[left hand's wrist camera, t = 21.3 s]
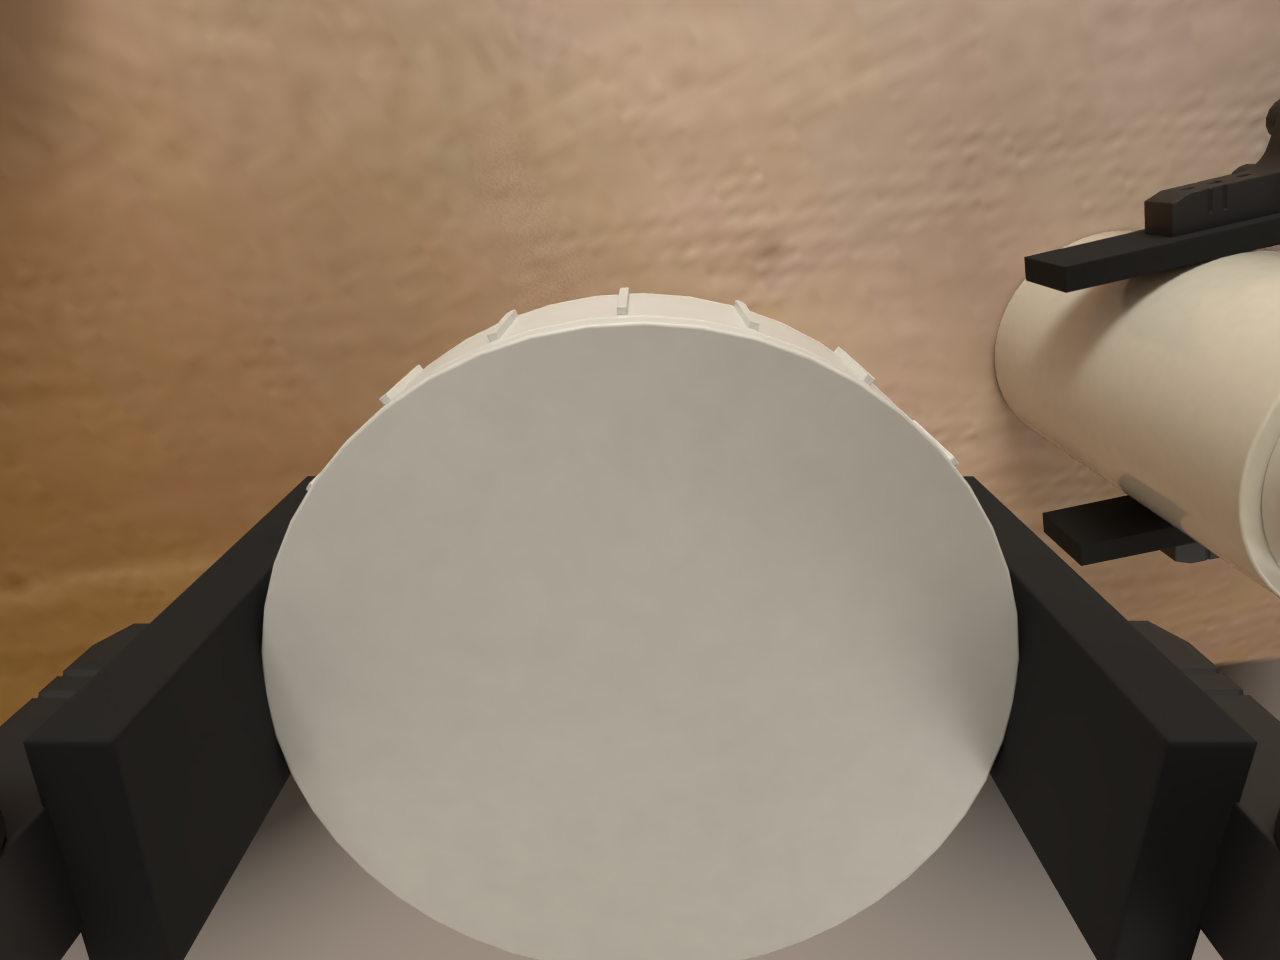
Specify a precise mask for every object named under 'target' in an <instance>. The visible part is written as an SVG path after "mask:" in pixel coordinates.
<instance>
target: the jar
mask: <svg viewBox="0 0 1280 960" xmlns="http://www.w3.org/2000/svg"><path fill="white" fill-rule="evenodd" d="M1131 232H1135V231H1122V230H1119V231H1110V232H1103V233H1099V234H1095V235H1091V236H1088V237H1085V238H1082V239H1080V240H1077V241H1075V242H1073V243H1071V244H1069V245H1067V246H1065V247H1063V248H1066V247H1070V246H1075V245H1079V244H1083V243H1088V242H1092V241H1096V240H1101V239H1105V238H1109V237H1114V236H1118V235H1122V234H1126V233H1131ZM1061 249H1062V248H1061ZM994 361H995V371H996V377H997V381H998V385H999V388H1000V390H1001V393H1002V395H1003V398H1004V399H1005V401H1006V403H1007V404H1008V406H1009V408H1010V409H1011V410H1012V412H1013V413H1014V414H1015V415H1016V416H1017V418H1018V419H1020V420H1021V421H1022V422H1023V423H1024V424H1025V425H1026V426H1028V427H1029V428H1030V429H1032V430H1033V431H1035V432H1036V433H1038V434H1039V435H1041V436H1042V437H1044V438H1045V439H1047V440H1048V441H1050V442H1051V443H1053V444H1054V445H1055V446H1057V447H1058V448H1060V449H1061V450H1063V451H1064V452H1066V453H1067V454H1069V455H1070V456H1072V457H1073V458H1075V459H1076V460H1078V461H1079V462H1080V463H1082V464H1083V465H1085V466H1086V467H1088V468H1089V469H1091V470H1092V471H1094V472H1095V473H1097V474H1098V475H1100V476H1101V477H1103V478H1104V479H1105V480H1107V481H1108V482H1110V483H1111V484H1113V485H1114V486H1116V487H1117V488H1119V489H1120V490H1122V491H1123V492H1125V493H1126V494H1128V495H1129V496H1130V497H1132V498H1133V499H1135V500H1136V501H1138V502H1139V503H1141V504H1142V505H1144V506H1145V507H1147V508H1148V509H1150V510H1151V511H1153V512H1154V513H1155V514H1157V515H1158V516H1160V517H1161V518H1163V519H1164V520H1166V521H1167V522H1169V523H1170V524H1172V525H1173V526H1175V527H1176V528H1177V529H1179V530H1180V531H1182V532H1183V533H1185V534H1186V535H1188V536H1189V537H1191V538H1192V539H1194V540H1195V541H1197V542H1198V543H1200V544H1201V545H1202V546H1204V547H1205V548H1207V549H1208V550H1210V551H1211V552H1213V553H1214V554H1216V555H1217V556H1219V557H1220V558H1222V559H1223V560H1225V561H1226V562H1227V563H1229V564H1230V565H1232V566H1233V567H1235V568H1236V569H1238V570H1239V571H1241V572H1242V573H1244V574H1245V575H1247V576H1248V577H1250V578H1251V579H1252V580H1254V581H1255V582H1257V583H1258V584H1260V585H1261V586H1263V587H1264V588H1266V589H1267V590H1269V591H1270V592H1272V593H1273V594H1275V595H1276V596H1277V597H1279V598H1280V251H1275V250H1268V249H1257V250H1253V251H1248V252H1244V253H1240V254H1235V255H1231V256H1226V257H1222V258H1218V259H1213V260H1209V261H1204V262H1200V263H1196V264H1191V265H1187V266H1183V267H1178V268H1174V269H1169V270H1165V271H1161V272H1156V273H1152V274H1147V275H1143V276H1139V277H1134V278H1130V279H1125V280H1121V281H1117V282H1112V283H1108V284H1104V285H1099V286H1095V287H1090V288H1086V289H1082V290H1077V291H1073V292H1068V293H1064V292H1061V291H1058V290H1055V289H1051V288H1048V287H1045V286H1042V285H1038V284H1035V283H1032V282H1029V281H1026V279H1025V280H1024V281H1023V282H1022V284H1021V285H1020V286H1019V288H1018V289H1017V290H1016V292H1015V293H1014V295H1013V297H1012V298H1011V300H1010V302H1009V303H1008V305H1007V307H1006V310H1005V312H1004V314H1003V317H1002V319H1001V322H1000V326H999V329H998V332H997V338H996V344H995V360H994Z"/></svg>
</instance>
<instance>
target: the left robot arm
mask: <svg viewBox="0 0 1280 960" xmlns="http://www.w3.org/2000/svg"><path fill="white" fill-rule="evenodd" d="M315 477H316V476H307V477H306V478H305V479H304V480H303V481H302V482H301V483H300V484H299V485H298V486H297V487H296V488H294V489H293V490H292V491H291V492H290V493H289V494H288V495H287V496H286V497H285V498H284V499H283V500H282V501H281V502H279V503H278V504H277V505H276V506H275V507H274V508H273V509H272V510H271V511H270V512H269V513H268V514H267V515H266V516H264V517H263V518H262V519H261V520H260V521H259V522H258V523H257V524H256V525H255V526H254V527H253V528H252V529H251V530H250V531H248V532H247V533H246V534H245V535H244V536H243V537H242V538H241V539H240V540H239V541H238V542H237V543H236V544H235V545H233V546H232V547H231V548H230V549H229V550H228V551H227V552H226V553H225V554H224V555H223V556H222V557H221V558H220V559H218V560H217V561H216V562H215V563H214V564H213V565H212V566H211V567H210V568H209V569H208V570H207V571H206V572H205V573H203V574H202V575H201V576H200V577H199V578H198V579H197V580H196V581H195V582H194V583H193V584H192V585H191V586H190V587H189V588H187V589H186V590H185V591H184V592H183V593H182V594H181V595H180V596H179V597H178V598H177V599H176V600H175V601H174V602H172V603H171V604H170V605H169V606H168V607H167V608H166V609H165V610H164V611H163V612H162V613H161V614H160V615H159V616H157V617H156V618H155V619H154V620H153V621H152V622H151V623H150V624H132V625H131V626H129V627H127V628H125V629H123V630H121V631H119V632H117V633H115V634H114V635H112V636H110V637H108V638H106V639H104V640H102V641H100V642H98V643H97V644H95V645H93V646H92V647H90V648H89V649H88V650H87V651H86V652H85V653H84V654H82V655H81V656H80V657H79V658H78V659H77V660H76V661H74V662H73V663H72V664H71V665H70V666H69V667H68V668H66V669H65V670H64V671H63V676H57V677H56V678H55V679H54V680H53V681H52V682H50V683H49V684H48V685H47V686H46V687H45V688H44V689H42V690H41V691H40V692H39V696H38V698H32V699H31V700H30V701H29V702H28V703H27V704H25V705H24V706H23V707H22V708H21V709H20V710H19V711H17V712H16V713H15V714H14V715H13V716H12V717H11V718H9V719H8V720H7V721H6V722H5V723H4V724H3V725H1V726H0V960H61V959H62V957H63V956H64V955H65V953H66V952H67V950H68V949H69V948H70V946H71V945H72V944H73V942H74V941H75V939H76V938H77V937H78V935H79V934H80V933H81V934H82V937H83V940H84V943H85V946H86V950H87V953H88V956H89V960H184V958H185V956H186V955H187V953H188V951H189V949H190V948H191V946H192V944H193V942H194V941H195V939H196V937H197V936H198V934H199V932H200V930H201V929H202V927H203V925H204V923H205V922H206V920H207V918H208V916H209V915H210V913H211V911H212V909H213V908H214V906H215V904H216V902H217V901H218V899H219V897H220V895H221V894H222V892H223V890H224V889H225V887H226V885H227V883H228V881H229V880H230V878H231V876H232V875H233V873H234V871H235V869H236V868H237V866H238V864H239V862H240V861H241V859H242V857H243V855H244V854H245V852H246V850H247V848H248V847H249V845H250V843H251V841H252V840H253V838H254V836H255V835H256V833H257V831H258V829H259V828H260V826H261V824H262V822H263V821H264V819H265V817H266V815H267V814H268V812H269V810H270V808H271V807H272V805H273V803H274V801H275V800H276V798H277V796H278V795H279V793H280V791H281V789H282V788H283V786H284V784H285V782H286V781H287V779H288V777H289V775H290V774H291V772H290V769H289V767H288V765H287V762H286V760H285V757H284V755H283V752H282V750H281V747H280V745H279V742H278V740H277V738H276V735H275V731H274V727H273V723H272V719H271V714H270V709H269V704H268V699H267V693H266V687H265V681H264V673H263V662H262V635H263V619H264V606H265V601H266V597H267V592H268V588H269V583H270V579H271V574H272V570H273V565H274V562H275V559H276V557H277V554H278V552H279V549H280V547H281V544H282V542H283V539H284V536H285V534H286V531H287V529H288V526H289V524H290V521H291V519H292V518H293V516H294V514H295V513H296V511H297V509H298V507H299V506H300V504H301V502H302V501H303V499H304V497H305V495H306V494H307V492H308V491H307V490H306V488H307V486H308V485H309V483H310V482H311V481H312V480H313V479H314V478H315ZM963 478H964V479H965V480H966V481H967V483H968V484H969V485H970V487H971V489H972V490H973V492H974V494H975V496H976V498H977V499H978V501H979V503H980V505H981V507H982V508H983V510H984V512H985V514H986V516H987V517H988V519H989V521H990V523H991V525H992V526H993V529H994V531H995V534H996V537H997V540H998V542H999V545H1000V548H1001V551H1002V553H1003V556H1004V559H1005V562H1006V564H1007V567H1008V570H1009V574H1010V579H1011V584H1012V590H1013V595H1014V600H1015V605H1016V610H1017V619H1018V646H1019V662H1018V671H1017V680H1016V686H1015V692H1014V698H1013V703H1012V708H1011V713H1010V718H1009V721H1008V725H1007V729H1006V732H1005V736H1004V740H1003V743H1002V745H1001V747H1000V750H999V752H998V754H997V757H996V759H995V761H994V764H993V766H992V768H991V771H990V774H991V776H992V778H993V780H994V781H995V783H996V785H997V787H998V788H999V790H1000V792H1001V794H1002V795H1003V797H1004V799H1005V801H1006V802H1007V804H1008V806H1009V808H1010V809H1011V811H1012V813H1013V814H1014V816H1015V818H1016V820H1017V821H1018V823H1019V825H1020V827H1021V828H1022V830H1023V832H1024V834H1025V835H1026V837H1027V839H1028V841H1029V842H1030V844H1031V846H1032V848H1033V849H1034V851H1035V853H1036V854H1037V856H1038V858H1039V860H1040V861H1041V863H1042V865H1043V867H1044V868H1045V870H1046V872H1047V874H1048V875H1049V877H1050V879H1051V881H1052V882H1053V884H1054V886H1055V888H1056V889H1057V891H1058V893H1059V895H1060V896H1061V898H1062V900H1063V901H1064V903H1065V905H1066V907H1067V908H1068V910H1069V912H1070V914H1071V915H1072V917H1073V919H1074V921H1075V922H1076V924H1077V926H1078V928H1079V929H1080V931H1081V933H1082V935H1083V936H1084V938H1085V940H1086V941H1087V943H1088V945H1089V947H1090V948H1091V950H1092V952H1093V954H1094V955H1095V957H1096V959H1097V960H1191V959H1192V955H1193V952H1194V949H1195V945H1196V942H1197V939H1198V936H1199V933H1200V929H1201V930H1202V931H1203V933H1204V934H1205V935H1206V937H1207V938H1208V939H1209V941H1210V942H1211V943H1212V945H1213V946H1214V948H1215V949H1216V950H1217V952H1218V953H1219V954H1220V956H1221V957H1222V958H1223V960H1280V722H1279V721H1278V720H1277V719H1276V718H1275V717H1274V716H1273V715H1271V714H1270V713H1269V712H1268V711H1267V710H1266V709H1265V708H1263V707H1262V706H1261V705H1260V704H1259V703H1258V702H1257V701H1255V700H1254V699H1253V698H1252V697H1251V696H1250V695H1243V689H1242V688H1240V687H1239V686H1238V685H1237V684H1236V683H1235V682H1233V681H1232V680H1231V679H1230V678H1229V677H1228V676H1227V675H1225V674H1224V673H1219V672H1218V668H1217V667H1216V666H1215V665H1214V664H1213V663H1212V662H1211V661H1209V660H1208V659H1207V658H1206V657H1205V656H1204V655H1202V654H1201V653H1200V652H1199V651H1198V650H1197V649H1196V648H1194V647H1193V646H1192V645H1191V644H1190V643H1189V642H1187V641H1185V640H1183V639H1181V638H1179V637H1177V636H1175V635H1173V634H1171V633H1169V632H1168V631H1166V630H1164V629H1162V628H1160V627H1158V626H1156V625H1154V624H1152V623H1150V622H1149V621H1127V620H1126V619H1125V618H1124V617H1123V616H1122V615H1121V614H1120V613H1119V612H1118V611H1117V610H1116V609H1115V608H1113V607H1112V606H1111V605H1110V604H1109V603H1108V602H1107V601H1106V600H1105V599H1104V598H1103V597H1102V596H1101V595H1100V594H1099V593H1097V592H1096V591H1095V590H1094V589H1093V588H1092V587H1091V586H1090V585H1089V584H1088V583H1087V582H1086V581H1085V580H1084V579H1082V578H1081V577H1080V576H1079V575H1078V574H1077V573H1076V572H1075V571H1074V570H1073V569H1072V568H1071V567H1070V566H1069V565H1067V564H1066V563H1065V562H1064V561H1063V560H1062V559H1061V558H1060V557H1059V556H1058V555H1057V554H1056V553H1055V552H1054V551H1052V550H1051V549H1050V548H1049V547H1048V546H1047V545H1046V544H1045V543H1044V542H1043V541H1042V540H1041V539H1040V538H1039V537H1037V536H1036V535H1035V534H1034V533H1033V532H1032V531H1031V530H1030V529H1029V528H1028V527H1027V526H1026V525H1025V524H1024V523H1023V522H1021V521H1020V520H1019V519H1018V518H1017V517H1016V516H1015V515H1014V514H1013V513H1012V512H1011V511H1010V510H1009V509H1008V508H1006V507H1005V506H1004V505H1003V504H1002V503H1001V502H1000V501H999V500H998V499H997V498H996V497H995V496H994V495H993V494H991V493H990V492H989V491H988V490H987V489H986V488H985V487H984V486H983V485H982V484H981V483H980V482H979V481H978V480H976V479H975V478H974V477H973V476H963Z"/></svg>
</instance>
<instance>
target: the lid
mask: <svg viewBox="0 0 1280 960" xmlns="http://www.w3.org/2000/svg"><path fill="white" fill-rule="evenodd" d="M874 380H875V378H874V377H872V376H871V375H870V374H869V373H868V372H867V371H866V370H865V369H864V368H863V367H861V366H860V365H859V364H858V363H857V362H856V361H855V360H854V359H853V358H852V357H850V356H849V355H848V354H847V353H846V352H845V351H844V350H842V349H841V348H839V347H838V348H837V349H836V350H835V351H834V352H833V351H831V350H830V349H829V348H827V347H826V346H824V345H823V344H822V343H820V342H818V341H816V340H814V339H812V338H810V337H808V336H806V335H805V334H803V333H801V332H799V331H797V330H795V329H793V328H791V327H789V326H787V325H785V324H783V323H782V322H779V321H776V320H773V319H771V318H768V317H765V316H762V315H759V314H757V313H754V312H751V311H750V310H749V309H748V308H747V306H746V305H745V304H744V302H741V301H738V300H736V301H735V304H734V306H732V305H728V304H723V303H718V302H714V301H709V300H704V299H699V298H695V297H688V296H675V295H662V294H649V293H637V294H629V288H628V287H627V288H620V291H619V295H602V296H593V297H588V298H582V299H577V300H572V301H567V302H562V303H556V304H551V305H548V306H545V307H542V308H539V309H536V310H533V311H530V312H527V313H524V314H521V315H517V313H516V310H512V311H510V312H508V313H507V314H506V315H505V316H504V317H503V318H502V319H501V320H500V321H499V322H498V324H496V325H494V326H492V327H490V328H488V329H486V330H484V331H482V332H480V333H478V334H476V335H474V336H472V337H470V338H468V339H466V340H464V341H463V342H461V343H460V344H458V345H457V346H455V347H454V348H452V349H451V350H449V351H448V352H446V353H445V354H444V355H442V356H441V357H439V358H438V359H436V360H435V361H433V362H432V363H430V364H429V365H428V366H427V367H425V368H424V369H423V368H422V367H421V366H420V365H417V366H416V367H415V368H414V369H413V370H411V371H410V372H409V373H408V374H407V375H406V376H405V377H404V378H402V379H401V380H400V381H399V382H398V383H397V384H396V385H395V386H394V387H392V388H391V389H390V390H389V391H388V392H387V393H386V394H385V395H383V396H382V397H381V398H380V399H379V400H380V401H381V402H382V403H383V404H384V406H383V407H382V408H381V409H380V410H379V411H378V412H377V413H376V414H375V415H374V416H372V417H371V418H370V419H369V420H368V421H367V422H366V423H365V424H364V425H363V426H362V427H361V428H360V429H359V430H357V431H356V432H355V433H354V434H353V435H352V436H351V437H350V438H349V439H348V440H347V441H346V442H345V443H344V444H343V445H342V447H341V448H340V449H339V450H338V452H337V453H336V454H335V455H334V457H333V458H332V459H331V460H330V461H329V463H328V464H327V465H326V466H325V468H324V469H323V470H322V471H321V472H320V473H319V474H318V475H317V476H316V477H315V478H314V479H313V480H312V481H311V482H310V483H309V485H308V486H307V488H306V490H307V491H308V492H307V494H306V495H305V497H304V499H303V501H302V502H301V504H300V506H299V507H298V509H297V511H296V513H295V514H294V516H293V518H292V519H291V521H290V524H289V526H288V529H287V531H286V534H285V536H284V539H283V542H282V544H281V547H280V549H279V552H278V554H277V557H276V559H275V562H274V565H273V570H272V574H271V579H270V583H269V588H268V592H267V597H266V601H265V606H264V619H263V635H262V662H263V673H264V681H265V687H266V693H267V699H268V704H269V709H270V714H271V719H272V723H273V727H274V731H275V735H276V738H277V740H278V742H279V745H280V747H281V750H282V752H283V755H284V757H285V760H286V762H287V765H288V767H289V769H290V772H291V774H292V776H293V778H294V779H295V781H296V783H297V785H298V786H299V788H300V790H301V791H302V793H303V795H304V797H305V798H306V800H307V802H308V804H309V805H310V807H311V809H312V810H313V812H314V813H315V814H316V815H317V817H318V818H319V819H320V821H321V822H322V823H323V825H324V826H325V827H326V828H327V830H328V831H329V832H330V834H331V835H332V836H333V838H334V839H335V840H336V841H337V843H338V844H339V845H340V846H341V847H342V848H343V849H344V850H345V851H346V852H347V853H348V854H349V855H350V856H351V857H352V858H353V859H354V860H355V861H356V862H357V863H358V864H359V865H360V866H361V867H362V868H363V869H364V870H365V871H366V872H367V873H368V874H370V875H371V876H372V877H373V878H375V879H376V880H377V881H378V882H380V883H381V884H382V885H383V886H385V887H386V888H387V889H388V890H390V891H391V892H392V893H393V894H395V895H396V896H397V897H398V898H400V899H401V900H403V901H404V902H406V903H408V904H409V905H411V906H412V907H414V908H416V909H417V910H419V911H420V912H422V913H424V914H425V915H427V916H428V917H430V918H432V919H433V920H435V921H437V922H439V923H441V924H443V925H445V926H447V927H449V928H451V929H453V930H455V931H457V932H459V933H461V934H463V935H465V936H467V937H470V938H472V939H474V940H477V941H480V942H482V943H485V944H488V945H490V946H493V947H496V948H499V949H501V950H504V951H507V952H510V953H513V954H516V955H520V956H525V957H528V958H532V959H536V960H745V959H749V958H753V957H757V956H762V955H765V954H768V953H771V952H773V951H776V950H779V949H782V948H785V947H788V946H791V945H794V944H796V943H799V942H802V941H804V940H806V939H809V938H811V937H813V936H815V935H817V934H819V933H821V932H824V931H826V930H828V929H830V928H832V927H834V926H836V925H839V924H841V923H842V922H844V921H846V920H847V919H849V918H851V917H852V916H854V915H855V914H857V913H859V912H861V911H862V910H864V909H865V908H867V907H869V906H870V905H872V904H874V903H875V902H877V901H878V900H879V899H881V898H882V897H883V896H885V895H886V894H887V893H889V892H890V891H891V890H892V889H894V888H895V887H896V886H898V885H899V884H900V883H902V882H903V881H904V880H905V879H907V878H908V877H909V876H910V875H911V874H912V873H913V872H914V871H916V870H917V869H918V868H919V867H920V866H921V865H922V864H923V863H924V862H925V861H926V860H927V859H928V858H929V857H930V856H931V855H932V854H933V853H934V852H935V851H936V850H937V849H938V848H939V847H940V846H941V845H942V843H943V842H944V841H945V840H946V838H947V837H948V836H949V835H950V833H951V832H952V831H953V830H954V828H955V827H956V826H957V825H958V823H959V822H960V821H961V819H962V818H963V817H964V816H965V814H966V813H967V811H968V809H969V808H970V806H971V804H972V803H973V801H974V799H975V798H976V796H977V795H978V793H979V791H980V790H981V788H982V786H983V785H984V783H985V781H986V780H987V777H988V775H989V773H990V771H991V768H992V766H993V764H994V761H995V759H996V757H997V754H998V752H999V750H1000V747H1001V745H1002V743H1003V740H1004V736H1005V732H1006V729H1007V725H1008V721H1009V718H1010V713H1011V708H1012V703H1013V698H1014V692H1015V686H1016V680H1017V671H1018V662H1019V646H1018V619H1017V610H1016V605H1015V600H1014V595H1013V590H1012V584H1011V579H1010V574H1009V570H1008V567H1007V564H1006V562H1005V559H1004V556H1003V553H1002V551H1001V548H1000V545H999V542H998V540H997V537H996V534H995V531H994V529H993V526H992V525H991V523H990V521H989V519H988V517H987V516H986V514H985V512H984V510H983V508H982V507H981V505H980V503H979V501H978V499H977V498H976V496H975V494H974V492H973V490H972V489H971V487H970V485H969V484H968V483H967V481H966V480H965V479H964V478H963V476H962V475H961V474H960V472H959V471H958V470H957V468H956V467H955V466H956V465H958V464H959V463H958V461H957V460H956V459H955V457H954V456H953V455H952V454H951V453H949V452H948V451H947V450H946V449H945V448H944V447H943V446H942V445H941V444H940V443H939V442H938V441H937V440H935V439H934V438H933V437H932V436H931V435H930V434H929V433H928V432H927V431H926V430H925V429H924V428H923V427H921V426H920V425H919V424H918V423H917V422H916V421H915V420H914V421H912V420H911V419H910V418H909V417H908V416H907V415H906V414H905V413H904V412H903V411H902V410H901V409H900V408H898V407H897V406H896V405H895V404H894V403H893V402H892V401H891V400H890V399H889V398H888V397H887V396H886V395H885V394H884V393H882V392H881V391H880V390H879V389H878V388H877V387H876V386H875V385H874V384H873V381H874Z"/></svg>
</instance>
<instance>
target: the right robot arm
mask: <svg viewBox="0 0 1280 960" xmlns="http://www.w3.org/2000/svg"><path fill="white" fill-rule="evenodd" d="M1266 127H1267V130H1268V132H1269V134H1271V138H1270V141H1269V144H1268V146H1267V149H1266V151H1265V153H1264V155H1263V156H1262V158H1261V159H1260V160H1259V161H1258V162H1257V163H1256V164H1246V165H1243V166H1241V167H1239V168H1237V169H1236V170H1235V171H1234V172H1233V173H1232V174H1231V175H1226V176H1222V177H1218V178H1214V179H1209V180H1205V181H1201V182H1197V183H1192V184H1188V185H1184V186H1180V187H1175V188H1171V189H1167V190H1163V191H1160V192H1159V193H1157V194H1156V195H1154V196H1152V197H1151V198H1149V199H1148V200H1146V201H1145V202H1144V205H1145V229H1144V230H1139V231H1135V232H1131V233H1126V234H1122V235H1118V236H1114V237H1109V238H1105V239H1101V240H1096V241H1092V242H1088V243H1083V244H1079V245H1075V246H1070V247H1066V248H1062V249H1057V250H1053V251H1049V252H1045V253H1040V254H1036V255H1032V256H1027V257H1024V258H1025V273H1026V281H1029V282H1032V283H1035V284H1038V285H1042V286H1045V287H1048V288H1051V289H1055V290H1058V291H1061V292H1064V293H1068V292H1073V291H1077V290H1082V289H1086V288H1090V287H1095V286H1099V285H1104V284H1108V283H1112V282H1117V281H1121V280H1125V279H1130V278H1134V277H1139V276H1143V275H1147V274H1152V273H1156V272H1161V271H1165V270H1169V269H1174V268H1178V267H1183V266H1187V265H1191V264H1196V263H1200V262H1204V261H1209V260H1213V259H1218V258H1222V257H1226V256H1231V255H1235V254H1240V253H1244V252H1248V251H1253V250H1257V249H1262V248H1266V247H1270V246H1275V245H1279V244H1280V100H1278V101H1277V102H1275V103H1274V105H1273V106H1272V107H1271V108H1270V110H1269V112H1268V115H1267V117H1266ZM1043 524H1044V532H1045V533H1046V534H1047V535H1048V536H1049V537H1050V538H1051V539H1052V540H1053V541H1055V542H1056V543H1057V544H1058V545H1059V546H1060V547H1061V548H1062V549H1063V550H1064V551H1065V552H1067V553H1068V554H1069V555H1070V556H1071V557H1072V558H1073V559H1074V560H1075V561H1076V562H1078V563H1079V564H1080V565H1081V566H1083V565H1088V564H1093V563H1098V562H1103V561H1108V560H1113V559H1118V558H1123V557H1127V556H1132V555H1137V554H1142V553H1147V552H1152V551H1157V550H1161V551H1162V552H1164V553H1165V554H1166V555H1168V556H1169V557H1170V558H1172V559H1173V560H1174V561H1178V562H1185V563H1195V562H1200V561H1204V560H1207V559H1214V558H1219V556H1217V555H1216V554H1214V553H1213V552H1211V551H1210V550H1208V549H1207V548H1205V547H1204V546H1202V545H1201V544H1200V543H1198V542H1197V541H1195V540H1194V539H1192V538H1191V537H1189V536H1188V535H1186V534H1185V533H1183V532H1182V531H1180V530H1179V529H1177V528H1176V527H1175V526H1173V525H1172V524H1170V523H1169V522H1167V521H1166V520H1164V519H1163V518H1161V517H1160V516H1158V515H1157V514H1155V513H1154V512H1153V511H1151V510H1150V509H1148V508H1147V507H1145V506H1144V505H1142V504H1141V503H1139V502H1138V501H1136V500H1135V499H1133V498H1132V497H1130V496H1129V495H1127V496H1122V497H1117V498H1112V499H1108V500H1103V501H1098V502H1093V503H1088V504H1084V505H1079V506H1074V507H1069V508H1064V509H1060V510H1055V511H1050V512H1045V513H1043Z"/></svg>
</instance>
